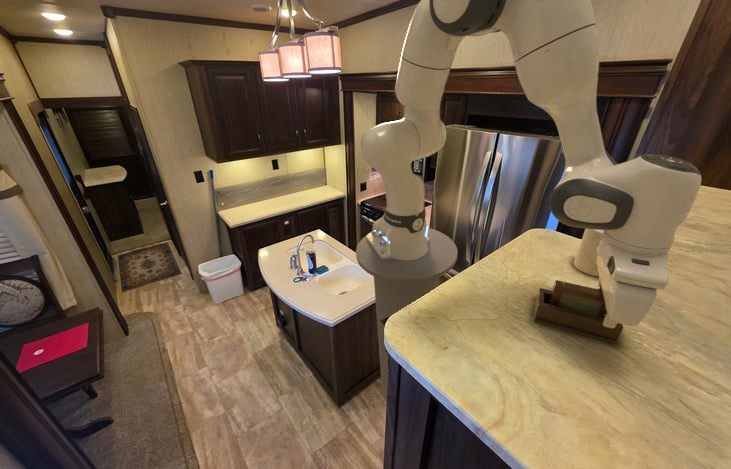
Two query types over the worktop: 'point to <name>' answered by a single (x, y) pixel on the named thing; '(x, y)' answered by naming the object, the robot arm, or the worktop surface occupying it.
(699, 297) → the worktop surface
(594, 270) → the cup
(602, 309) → the frame
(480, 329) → the worktop surface
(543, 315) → the holder
